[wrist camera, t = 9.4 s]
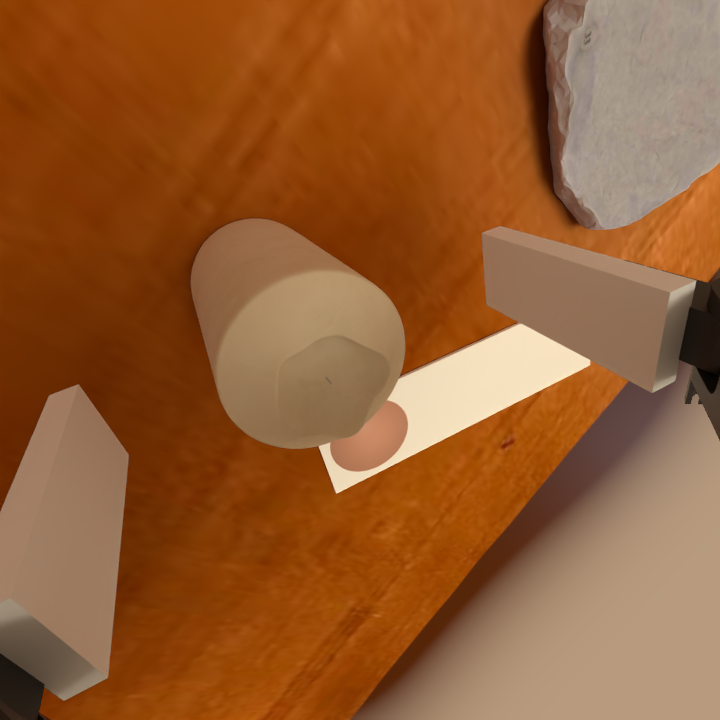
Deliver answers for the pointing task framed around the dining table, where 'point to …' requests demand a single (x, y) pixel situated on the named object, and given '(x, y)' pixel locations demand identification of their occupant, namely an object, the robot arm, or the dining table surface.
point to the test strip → (450, 399)
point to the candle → (293, 335)
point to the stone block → (630, 103)
